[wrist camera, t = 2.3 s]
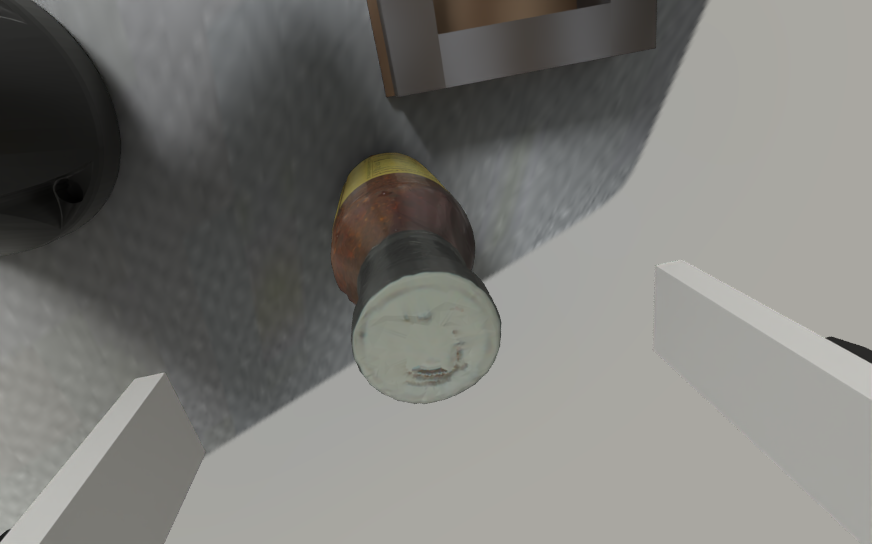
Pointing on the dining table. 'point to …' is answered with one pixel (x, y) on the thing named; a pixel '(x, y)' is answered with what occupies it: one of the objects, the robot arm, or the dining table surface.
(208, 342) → the dining table surface
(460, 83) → the stand
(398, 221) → the sauce bottle
